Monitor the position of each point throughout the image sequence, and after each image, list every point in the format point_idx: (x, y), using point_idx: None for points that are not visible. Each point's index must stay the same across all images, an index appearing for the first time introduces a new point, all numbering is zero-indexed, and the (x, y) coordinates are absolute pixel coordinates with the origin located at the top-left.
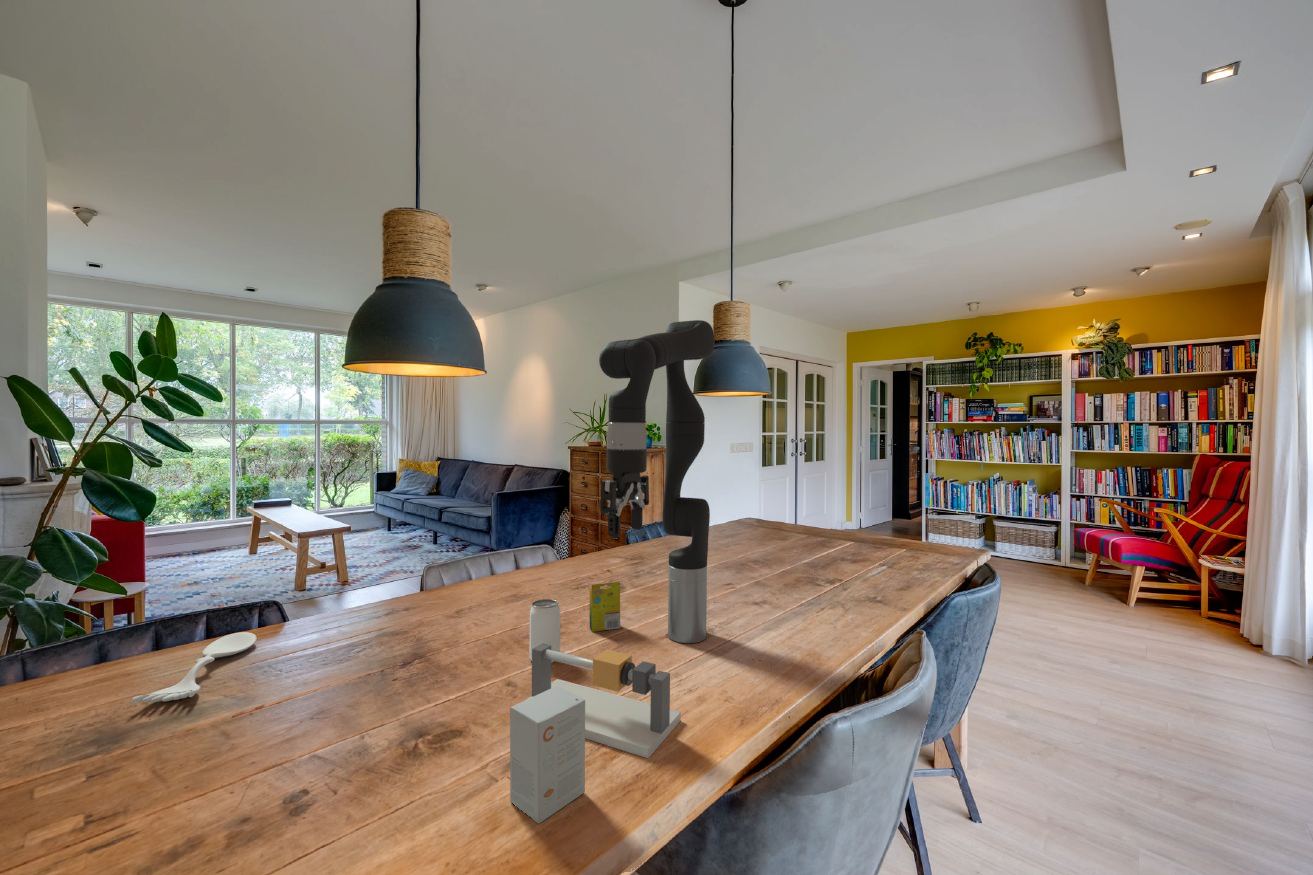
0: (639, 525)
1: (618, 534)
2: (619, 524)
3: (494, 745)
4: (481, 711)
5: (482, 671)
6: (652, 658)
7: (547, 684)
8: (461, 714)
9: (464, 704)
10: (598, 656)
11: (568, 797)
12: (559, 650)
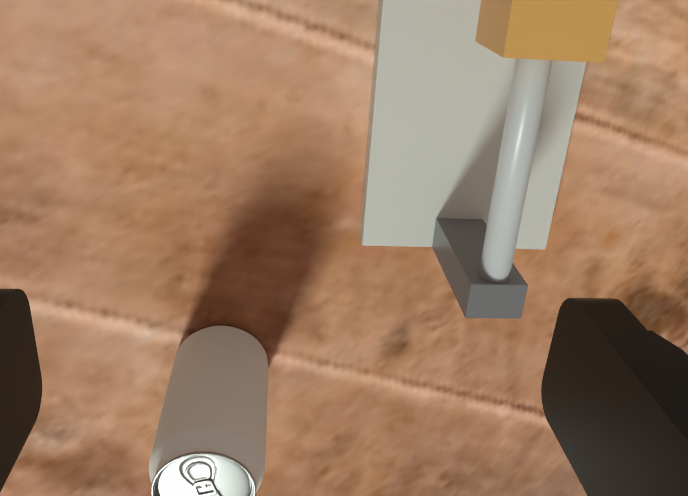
0: (9, 322)
1: (621, 302)
2: (668, 375)
3: (664, 199)
4: (541, 317)
5: (366, 439)
6: (14, 55)
7: (459, 229)
8: None
9: (524, 367)
10: (576, 54)
11: None
12: (201, 340)
